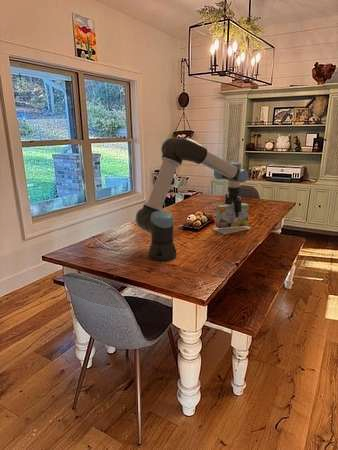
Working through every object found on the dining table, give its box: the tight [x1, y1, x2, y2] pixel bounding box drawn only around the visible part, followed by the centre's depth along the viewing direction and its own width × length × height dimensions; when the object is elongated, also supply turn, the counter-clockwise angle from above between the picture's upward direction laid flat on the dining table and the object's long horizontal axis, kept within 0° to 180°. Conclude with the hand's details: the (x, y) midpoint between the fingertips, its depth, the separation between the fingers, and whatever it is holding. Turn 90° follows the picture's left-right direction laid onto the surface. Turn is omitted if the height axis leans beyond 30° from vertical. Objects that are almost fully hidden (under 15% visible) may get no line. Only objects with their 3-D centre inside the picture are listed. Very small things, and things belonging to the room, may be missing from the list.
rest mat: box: [210, 225, 253, 236], centre depth 214 cm, size 12×26×1 cm, turn 120°
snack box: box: [215, 202, 250, 228], centre depth 211 cm, size 21×6×15 cm, turn 107°
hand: (232, 220), depth 212 cm, fingers closed on snack box, 6 cm apart
